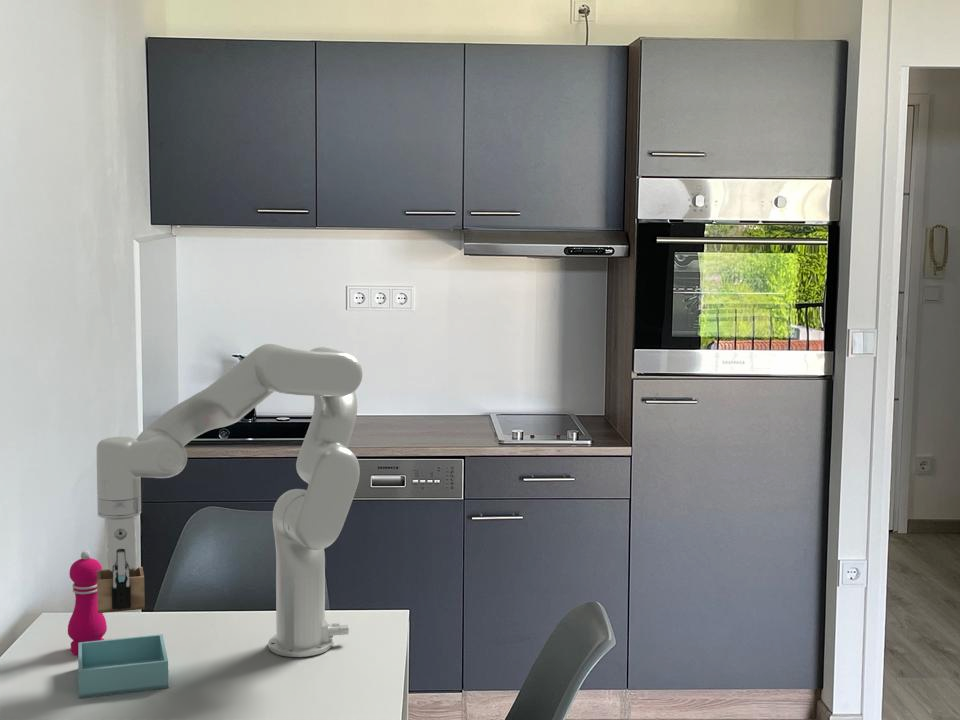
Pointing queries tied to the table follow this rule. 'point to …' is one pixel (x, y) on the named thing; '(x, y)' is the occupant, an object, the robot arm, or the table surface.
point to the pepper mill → (85, 603)
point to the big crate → (122, 665)
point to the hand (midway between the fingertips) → (120, 601)
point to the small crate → (107, 583)
